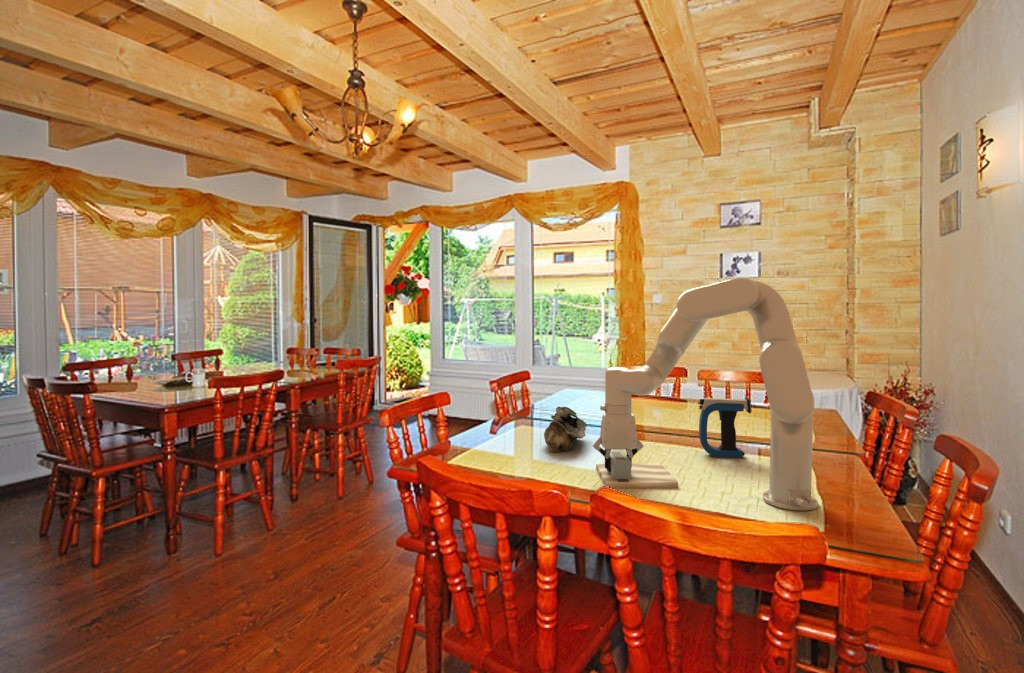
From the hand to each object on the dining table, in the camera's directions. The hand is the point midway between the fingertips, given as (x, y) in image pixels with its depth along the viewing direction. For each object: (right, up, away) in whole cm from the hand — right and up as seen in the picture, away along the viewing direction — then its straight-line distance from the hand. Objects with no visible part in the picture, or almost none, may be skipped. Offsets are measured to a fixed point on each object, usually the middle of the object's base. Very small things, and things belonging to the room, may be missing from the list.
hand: (618, 470), depth 161 cm
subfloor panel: (+5, -2, 0) cm, 6 cm away
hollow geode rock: (-11, -1, +39) cm, 41 cm away
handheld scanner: (+40, -1, +22) cm, 46 cm away
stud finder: (0, -1, 0) cm, 1 cm away
